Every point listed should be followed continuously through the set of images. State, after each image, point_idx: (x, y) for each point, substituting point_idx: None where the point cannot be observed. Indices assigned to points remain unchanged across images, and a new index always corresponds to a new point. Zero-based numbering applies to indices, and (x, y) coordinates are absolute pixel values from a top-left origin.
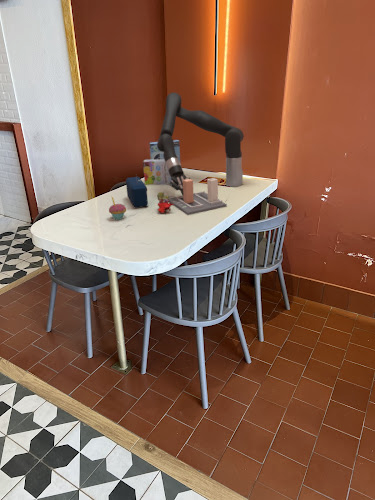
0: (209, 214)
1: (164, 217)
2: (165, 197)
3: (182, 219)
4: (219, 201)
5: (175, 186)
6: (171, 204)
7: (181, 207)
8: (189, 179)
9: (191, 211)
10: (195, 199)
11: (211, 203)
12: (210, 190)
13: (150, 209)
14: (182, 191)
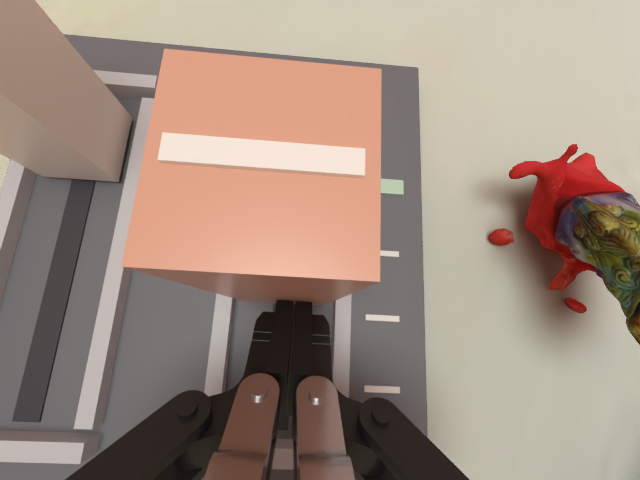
0: (279, 6)
1: (577, 138)
2: (635, 233)
3: (479, 41)
4: None
5: (439, 454)
6: (543, 163)
7: (409, 190)
8: (177, 190)
9: (383, 70)
10: (179, 303)
11: (157, 79)
12: (38, 30)
13: (637, 366)
14: (320, 350)
